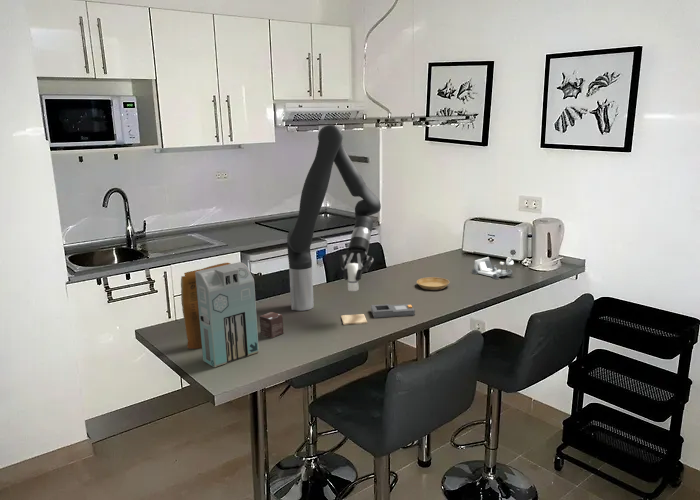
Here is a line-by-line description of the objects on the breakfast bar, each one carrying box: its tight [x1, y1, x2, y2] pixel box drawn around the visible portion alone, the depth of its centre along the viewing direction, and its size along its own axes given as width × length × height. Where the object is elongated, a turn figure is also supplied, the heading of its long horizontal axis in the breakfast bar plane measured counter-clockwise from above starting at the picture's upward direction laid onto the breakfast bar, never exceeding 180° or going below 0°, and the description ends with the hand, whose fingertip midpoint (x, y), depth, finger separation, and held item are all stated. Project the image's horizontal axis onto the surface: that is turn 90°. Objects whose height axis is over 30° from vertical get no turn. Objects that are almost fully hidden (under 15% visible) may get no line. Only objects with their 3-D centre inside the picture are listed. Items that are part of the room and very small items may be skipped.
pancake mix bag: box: [180, 262, 232, 350], centre depth 192 cm, size 7×19×28 cm, turn 127°
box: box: [259, 311, 284, 339], centre depth 202 cm, size 6×6×7 cm
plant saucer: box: [416, 276, 450, 291], centre depth 255 cm, size 15×15×3 cm
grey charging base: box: [370, 303, 416, 319], centre depth 221 cm, size 16×8×3 cm, turn 97°
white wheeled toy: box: [471, 256, 515, 280], centre depth 271 cm, size 18×10×12 cm
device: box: [195, 261, 260, 368], centre depth 180 cm, size 16×8×30 cm, turn 133°
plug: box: [346, 263, 360, 292], centre depth 211 cm, size 4×4×10 cm
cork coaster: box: [340, 313, 368, 326], centre depth 215 cm, size 9×9×1 cm
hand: (351, 279), depth 209 cm, fingers closed on plug, 4 cm apart
